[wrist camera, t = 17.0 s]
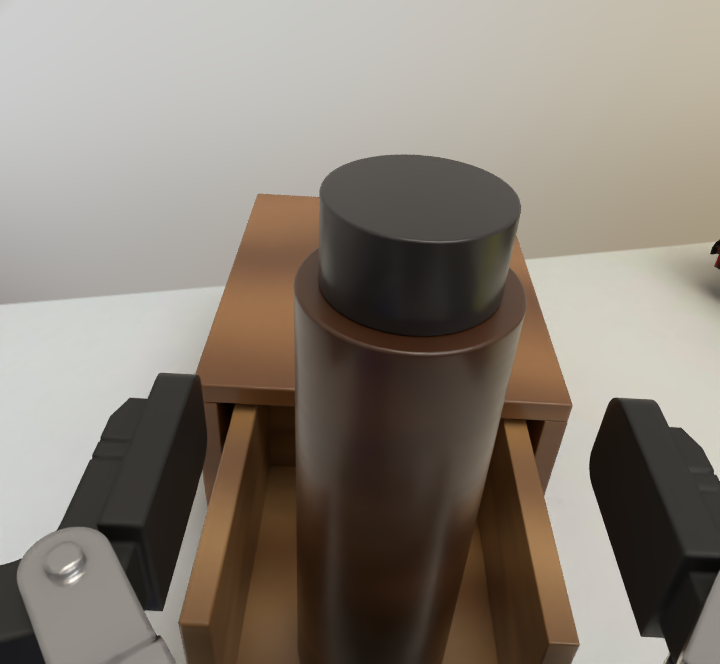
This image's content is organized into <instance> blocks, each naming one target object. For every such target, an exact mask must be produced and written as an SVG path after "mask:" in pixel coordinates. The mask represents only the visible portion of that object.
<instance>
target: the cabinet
mask: <svg viewBox="0 0 720 664" xmlns="http://www.w3.org/2000/svg"><path fill="white" fill-rule="evenodd" d="M318 247H319V197H306V196H289V195H270V194H258V195H257V198H256V200H255V203H254V206H253V209H252V212H251V215H250V218H249V221H248V223H247V226H246V229H245V232H244V235H243V238H242V241H241V244H240V246H239V249H238V252H237V255H236V258H235V261H234V264H233V267H232V270H231V272H230V275H229V278H228V281H227V284H226V287H225V290H224V293H223V296H222V298H221V301H220V304H219V307H218V310H217V313H216V316H215V319H214V322H213V324H212V327H211V330H210V333H209V336H208V339H207V342H206V345H205V347H204V350H203V353H202V356H201V359H200V362H199V365H198V368H197V371H196V373H195V375H199V377H200V379H201V385H202V393H203V401H204V410H205V418H206V426H207V449H206V457H205V461H204V465H203V469H202V470H203V478H204V485H205V493H206V500H207V508H208V506H209V502H210V499H211V495H212V491H213V487H214V483H215V479H216V475H217V472H218V468H219V464H220V460H221V456H222V452H223V448H224V445H225V441H226V437H227V433H228V429H229V425H230V421H231V418H232V414H233V410H234V406H235V404H253V405H271V406H290V407H295V362H294V278H295V275H296V272H297V270H298V268H299V266H300V265H301V263H302V261H303V260H304V259H305V258H306V257H307V256H308V255H309V254H310V253H311V252H312V251H314V250H315V249H316V248H318ZM510 268H511V269H512V270H513V271H514V272H515V273H516V274H517V276H518V277H519V279H520V280H521V282H522V284H523V287H524V289H525V293H526V298H527V308H526V313H525V317H524V321H523V325H522V330H521V334H520V338H519V342H518V347H517V351H516V355H515V359H514V363H513V368H512V372H511V376H510V380H509V384H508V389H507V393H506V397H505V401H504V405H503V410H502V414H501V418H508V419H525V420H526V424H527V429H528V433H529V437H530V441H531V445H532V449H533V453H534V458H535V462H536V466H537V470H538V474H539V478H540V482H541V487H542V491H543V495H544V494H545V491H546V488H547V485H548V482H549V479H550V476H551V472H552V469H553V466H554V463H555V460H556V457H557V454H558V451H559V448H560V444H561V441H562V438H563V435H564V432H565V429H566V426H567V421H568V418H569V415H570V412H571V409H572V402H571V399H570V396H569V393H568V390H567V387H566V384H565V381H564V378H563V375H562V372H561V369H560V366H559V363H558V360H557V357H556V354H555V351H554V348H553V345H552V342H551V339H550V336H549V333H548V330H547V327H546V324H545V321H544V317H543V314H542V311H541V308H540V305H539V302H538V299H537V296H536V293H535V290H534V287H533V284H532V281H531V278H530V275H529V272H528V269H527V266H526V263H525V260H524V257H523V254H522V251H521V248H520V245H519V242H518V239H517V236H516V237H515V242H514V247H513V251H512V256H511V261H510Z"/></svg>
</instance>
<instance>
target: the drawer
mask: <svg viewBox="0 0 720 664" xmlns="http://www.w3.org/2000/svg"><path fill="white" fill-rule="evenodd" d="M178 623H179V628H180V633H181V638H182V643H183V648H184V653H185V657H186V662H187V664H301V662H300V658H299V653H298V622H297V535H296V449H295V407H290V406H271V405H253V404H235V406H234V410H233V414H232V418H231V421H230V425H229V429H228V433H227V437H226V441H225V445H224V448H223V452H222V456H221V460H220V464H219V468H218V472H217V475H216V479H215V483H214V487H213V491H212V495H211V499H210V502H209V506H208V510H207V514H206V518H205V522H204V526H203V530H202V533H201V537H200V541H199V545H198V549H197V553H196V557H195V560H194V564H193V568H192V572H191V576H190V580H189V584H188V587H187V591H186V595H185V599H184V603H183V607H182V611H181V614H180V618H179V622H178ZM579 645H580V644H579V640H578V636H577V631H576V627H575V623H574V619H573V615H572V611H571V607H570V602H569V598H568V594H567V590H566V586H565V582H564V578H563V573H562V569H561V565H560V561H559V557H558V553H557V549H556V544H555V540H554V536H553V532H552V528H551V524H550V520H549V516H548V511H547V507H546V503H545V499H544V495H543V491H542V487H541V482H540V478H539V474H538V470H537V466H536V462H535V458H534V453H533V449H532V445H531V441H530V437H529V433H528V429H527V424H526V420H525V419H508V418H500V422H499V426H498V431H497V435H496V439H495V443H494V448H493V452H492V456H491V460H490V464H489V469H488V473H487V477H486V481H485V485H484V490H483V494H482V498H481V502H480V506H479V511H478V515H477V519H476V523H475V528H474V532H473V536H472V540H471V544H470V549H469V553H468V557H467V561H466V565H465V570H464V574H463V578H462V582H461V586H460V591H459V595H458V599H457V603H456V607H455V612H454V616H453V620H452V624H451V629H450V633H449V637H448V641H447V645H446V650H445V654H444V658H443V662H442V664H571V663H572V661H573V658H574V656H575V654H576V652H577V650H578V647H579Z"/></svg>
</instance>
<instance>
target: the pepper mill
mask: <svg viewBox="0 0 720 664" xmlns="http://www.w3.org/2000/svg"><path fill="white" fill-rule="evenodd" d="M520 213H521V205H520V200H519V198H518V195H517V194H516V192H515V191H514V190H513V189H512V188H511V187H510V186H509V185H508V184H507V183H506V182H504V181H503V180H502V179H500V178H499V177H497V176H495V175H493V174H491V173H489V172H487V171H485V170H483V169H480V168H478V167H475V166H472V165H469V164H466V163H462V162H458V161H454V160H449V159H445V158H439V157H432V156H421V155H385V156H376V157H370V158H365V159H360V160H357V161H353V162H350V163H347V164H345V165H343V166H341V167H339V168H337V169H335V170H334V171H332V172H331V173H330V174H329V175H328V176H327V177H326V178H325V179H324V181H323V182H322V185H321V187H320V197H319V247H318V248H316V249H315V250H314V251H312V252H311V253H310V254H309V255H308V256H307V257H306V258H305V259H304V260H303V261H302V263H301V265H300V266H299V268H298V270H297V272H296V275H295V278H294V362H295V449H296V535H297V622H298V653H299V658H300V662H301V664H442V662H443V658H444V654H445V650H446V645H447V641H448V637H449V633H450V629H451V624H452V620H453V616H454V612H455V607H456V603H457V599H458V595H459V591H460V586H461V582H462V578H463V574H464V570H465V565H466V561H467V557H468V553H469V549H470V544H471V540H472V536H473V532H474V528H475V523H476V519H477V515H478V511H479V506H480V502H481V498H482V494H483V490H484V485H485V481H486V477H487V473H488V469H489V464H490V460H491V456H492V452H493V448H494V443H495V439H496V435H497V431H498V426H499V422H500V418H501V414H502V410H503V405H504V401H505V397H506V393H507V389H508V384H509V380H510V376H511V372H512V368H513V363H514V359H515V355H516V351H517V347H518V342H519V338H520V334H521V330H522V325H523V321H524V317H525V313H526V308H527V298H526V293H525V289H524V287H523V284H522V282H521V280H520V279H519V277H518V276H517V274H516V273H515V272H514V271H513V270H512V269H511V268H510V261H511V256H512V251H513V247H514V242H515V237H516V232H517V227H518V223H519V218H520Z"/></svg>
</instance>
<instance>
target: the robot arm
mask: <svg viewBox="0 0 720 664" xmlns="http://www.w3.org/2000/svg"><path fill="white" fill-rule="evenodd" d="M100 438H101V440H100V442H98V444H97V446H96V448H95V450H94V453H93V455H92V460H90V461H89V463H88V466H87V468H86V470H85V472H84V474H83V476H82V479H81V481H80V483H79V485H78V487H77V489H76V492H75V494H74V496H73V498H72V500H71V502H70V505H69V507H68V509H67V511H66V513H65V515H64V517H63V520H62V522H61V524H60V526H59V527H58V529H57V531H55V532H52V533H50V534H49V535H47V536H45V537H43V538H42V539H40V540H39V541H37V542H36V543H35V544H34V545H33V546H32V547H31V548H30V549H29V550H28V551H27V552H26V554H25V555H24V557H23V558H22V559H19V560H17V561H14V562H11V563H8V564H4V565H0V664H176V662H175V660H174V658H173V657H172V655H171V653H170V651H169V649H168V647H167V645H166V643H165V642H164V640H163V639H162V637H161V636H160V635H159V636H157V635H156V634H155V632H154V630H153V628H152V626H151V624H150V622H149V620H148V618H147V616H146V614H145V612H144V610H149V611H163V609H164V605H165V601H166V598H167V594H168V591H169V587H170V583H171V580H172V576H173V573H174V569H175V566H176V562H177V558H178V555H179V551H180V548H181V544H182V541H183V537H184V533H185V530H186V526H187V523H188V519H189V515H190V512H191V508H192V505H193V501H194V498H195V494H196V490H197V487H198V483H199V480H200V476H201V473H202V469H203V465H204V461H205V457H206V449H207V426H206V418H205V410H204V401H203V393H202V385H201V379H200V377H199V375H192V374H173V373H159V374H158V376H157V378H156V380H155V382H154V385H153V387H152V389H151V392H150V394H149V397H148V399H141V398H129V399H128V400H127V401H126V402H125V403H124V404H123V405H122V406H121V407H120V408H119V409H118V410H116V411H115V412H114V413H113V414H112V415H111V416H110V418H109V420H108V422H107V424H106V427H105V429H104V431H103V433H102V435H101V437H100ZM589 470H590V479H591V484H592V487H593V490H594V493H595V496H596V499H597V502H598V505H599V509H600V512H601V515H602V518H603V521H604V524H605V527H606V530H607V533H608V536H609V539H610V542H611V546H612V549H613V552H614V555H615V558H616V561H617V564H618V567H619V570H620V573H621V576H622V579H623V583H624V586H625V589H626V592H627V595H628V598H629V601H630V604H631V607H632V610H633V613H634V616H635V620H636V623H637V626H638V629H639V632H640V635H641V637H659V638H665V641H666V644H667V646H668V649H669V654H668V656H667V657H666V659H665V661H664V663H663V664H720V481H719V479H718V477H717V475H714V470H713V468H712V466H711V464H710V462H709V460H708V458H707V456H706V454H705V452H704V451H703V449H702V447H701V446H700V445H698V444H697V443H696V442H695V441H694V440H693V439H692V438H691V437H690V436H689V435H688V434H687V433H686V432H685V431H684V430H683V429H682V428H676V427H669V426H668V424H667V422H666V420H665V418H664V416H663V414H662V411H661V409H660V407H659V406H658V404H657V403H656V402H655V401H654V400H648V399H629V398H613V399H612V400H611V401H610V402H609V404H608V407H607V409H606V412H605V415H604V418H603V421H602V423H601V426H600V429H599V432H598V434H597V437H596V440H595V443H594V446H593V448H592V451H591V455H590V464H589Z"/></svg>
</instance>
